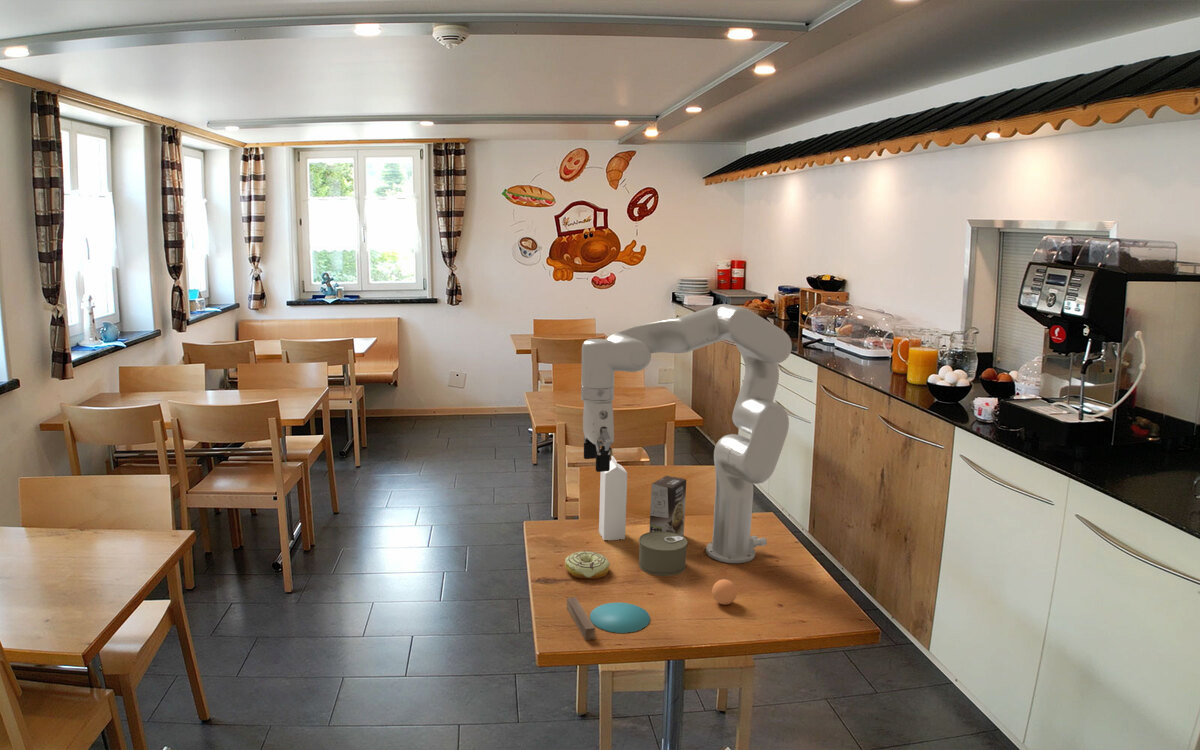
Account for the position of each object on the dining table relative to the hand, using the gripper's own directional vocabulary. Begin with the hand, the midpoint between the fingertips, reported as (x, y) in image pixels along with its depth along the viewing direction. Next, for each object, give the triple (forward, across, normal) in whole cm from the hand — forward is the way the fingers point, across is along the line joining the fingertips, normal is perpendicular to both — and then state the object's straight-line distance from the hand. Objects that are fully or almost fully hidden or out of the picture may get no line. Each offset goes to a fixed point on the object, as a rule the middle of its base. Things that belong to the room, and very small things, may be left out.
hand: (596, 464), depth 188 cm
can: (+29, +2, -18) cm, 34 cm away
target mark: (+28, -20, 0) cm, 35 cm away
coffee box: (+29, +18, -26) cm, 43 cm away
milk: (+29, +23, -12) cm, 39 cm away
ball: (+26, -20, -25) cm, 41 cm away
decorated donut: (+29, +4, +1) cm, 29 cm away
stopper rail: (+28, -20, +9) cm, 36 cm away
